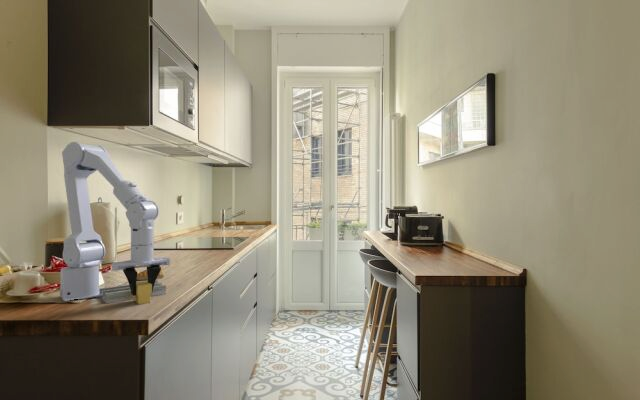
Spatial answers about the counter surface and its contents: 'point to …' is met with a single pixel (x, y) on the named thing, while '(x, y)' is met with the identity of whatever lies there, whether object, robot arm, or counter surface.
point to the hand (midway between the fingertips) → (142, 293)
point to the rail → (126, 292)
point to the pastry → (143, 276)
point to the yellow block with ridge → (143, 292)
